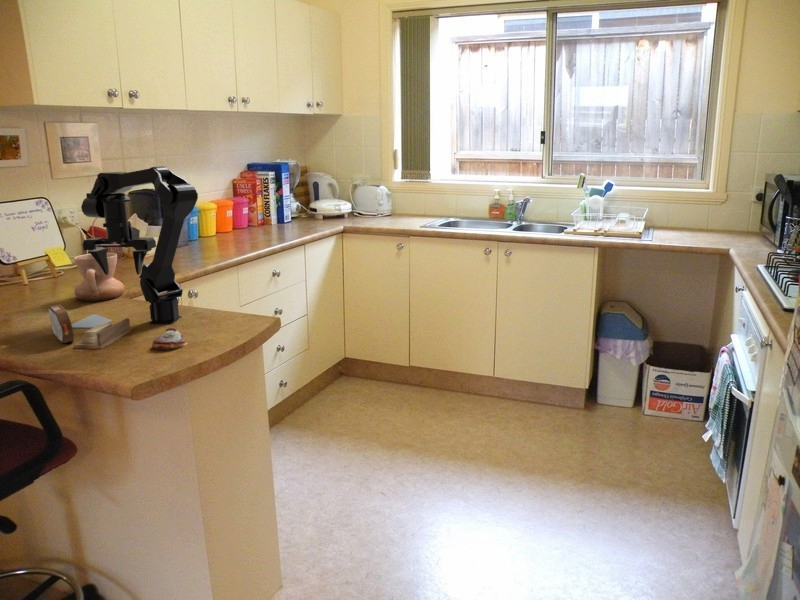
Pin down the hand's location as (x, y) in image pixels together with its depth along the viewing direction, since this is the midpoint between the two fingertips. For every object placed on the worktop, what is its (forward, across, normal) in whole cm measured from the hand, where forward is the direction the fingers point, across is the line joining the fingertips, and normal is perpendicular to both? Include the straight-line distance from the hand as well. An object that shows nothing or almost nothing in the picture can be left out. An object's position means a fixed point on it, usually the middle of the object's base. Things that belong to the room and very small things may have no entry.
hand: (122, 274), depth 184 cm
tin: (+13, +6, +22) cm, 26 cm away
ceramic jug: (+12, +20, -20) cm, 31 cm away
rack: (+12, -5, +22) cm, 26 cm away
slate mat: (+12, +6, +3) cm, 14 cm away
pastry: (+13, -24, +27) cm, 38 cm away
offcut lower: (+12, -4, +22) cm, 25 cm away
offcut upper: (+10, -4, +22) cm, 24 cm away
